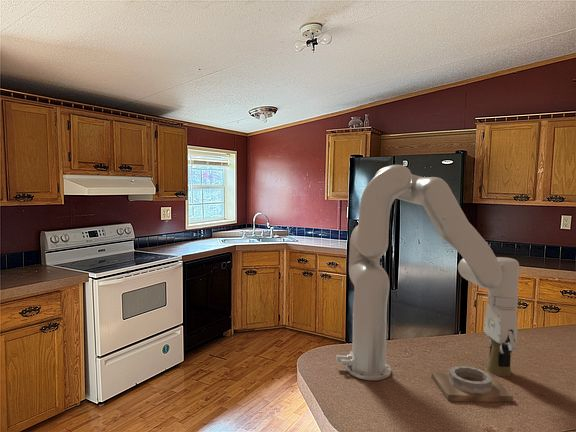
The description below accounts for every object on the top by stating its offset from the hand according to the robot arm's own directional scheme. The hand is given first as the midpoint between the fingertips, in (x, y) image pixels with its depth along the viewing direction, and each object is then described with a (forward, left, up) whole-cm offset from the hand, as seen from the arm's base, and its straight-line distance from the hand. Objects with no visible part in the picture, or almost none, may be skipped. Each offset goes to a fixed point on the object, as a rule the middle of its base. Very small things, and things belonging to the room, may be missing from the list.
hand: (499, 362), depth 113 cm
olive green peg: (0, 0, -3) cm, 3 cm away
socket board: (-13, -11, -3) cm, 17 cm away
